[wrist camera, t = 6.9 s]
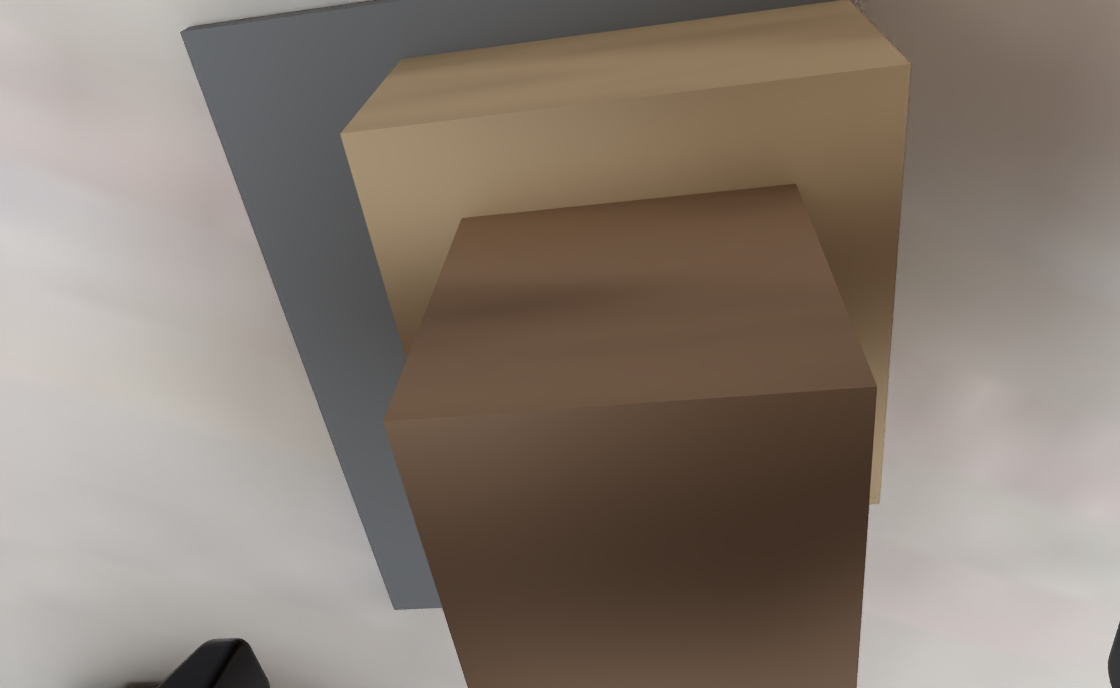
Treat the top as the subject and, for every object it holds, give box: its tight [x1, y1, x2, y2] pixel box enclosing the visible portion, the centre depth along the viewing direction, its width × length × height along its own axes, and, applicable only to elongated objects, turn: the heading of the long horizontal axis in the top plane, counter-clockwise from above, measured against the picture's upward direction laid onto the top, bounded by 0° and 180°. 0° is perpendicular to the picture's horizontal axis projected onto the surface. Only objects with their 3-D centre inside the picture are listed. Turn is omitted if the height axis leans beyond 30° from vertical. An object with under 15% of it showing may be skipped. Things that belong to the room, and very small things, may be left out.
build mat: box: [180, 0, 839, 610], centre depth 20 cm, size 16×12×1 cm
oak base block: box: [340, 0, 911, 504], centre depth 16 cm, size 8×8×4 cm
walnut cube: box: [383, 184, 877, 688], centre depth 12 cm, size 5×5×5 cm
